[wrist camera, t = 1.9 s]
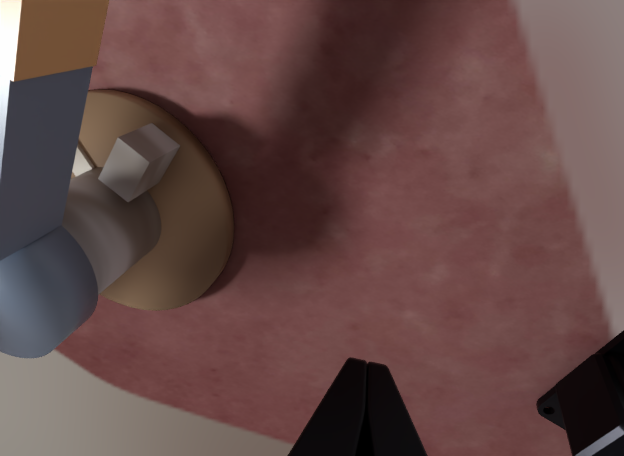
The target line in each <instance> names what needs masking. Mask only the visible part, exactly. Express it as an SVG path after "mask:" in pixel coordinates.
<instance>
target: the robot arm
mask: <svg viewBox="0 0 624 456" xmlns="http://www.w3.org/2000/svg"><path fill="white" fill-rule="evenodd" d="M536 405H537V410H538V413H539V414H540V415H541V416H542V417H544V418H546V419H548V420H549V421H551V422H553V423H554V424H556V425H558V426H560V427H561V428H563V429H565V430H566V433H567V437H568V441H569V445H570V449H571V453H572V456H624V331H622V332H621V333H620V334H618V335H617V336H616V337H615V338H614V339H612V340H611V341H610V342H609V343H607V344H606V345H605V346H604V347H602V348H601V349H600V350H599V351H597V352H596V353H595V354H593V355H591V356H590V357H589V358H588V359H586V360H585V361H584V362H583V363H581V364H580V365H579V366H578V367H577V368H575V369H574V370H573V371H572V372H570V373H569V374H568V375H567V376H565V377H564V378H563V379H562V380H560V381H559V382H558V383H557V384H556V385H555V386H554V387H553V388H552V389H550V390H549V391H548V392H547V393H546V394H544V395H543V396H542V397H541V398H539V399H538V401H537V404H536ZM545 407H551V408H545ZM288 456H427V454H426V451H425V449H424V447H423V445H422V442H421V440H420V438H419V436H418V433H417V431H416V429H415V427H414V424H413V422H412V420H411V418H410V415H409V413H408V411H407V409H406V406H405V404H404V402H403V400H402V397H401V395H400V393H399V391H398V389H397V386H396V384H395V382H394V380H393V377H392V375H391V373H390V371H389V369H388V367H387V366H386V365H384V364H380V363H375V362H368V363H367V362H366V361H365V360H361V359H356V358H348V359H347V360H346V362H345V364H344V365H343V367H342V368H341V370H340V372H339V373H338V375H337V376H336V378H335V380H334V381H333V383H332V385H331V386H330V388H329V389H328V391H327V393H326V394H325V396H324V398H323V399H322V401H321V402H320V404H319V406H318V407H317V409H316V411H315V412H314V414H313V415H312V417H311V419H310V420H309V422H308V423H307V425H306V427H305V428H304V430H303V432H302V433H301V435H300V436H299V438H298V440H297V441H296V443H295V445H294V446H293V448H292V450H291V451H290V453H289V454H288Z"/></svg>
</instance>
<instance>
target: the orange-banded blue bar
mask: <svg viewBox="0 0 624 456" xmlns="http://www.w3.org/2000/svg"><path fill="white" fill-rule="evenodd" d="M108 4H109V0H0V351H1V352H3V353H5V354H8V355H11V356H15V357H20V358H37V357H42V356H44V355H47V354H48V353H50V352H51V351H52V350H53V349H55V348H56V347H57V346H58V345H59V344H60V343H61V342H63V341H64V340H65V339H66V338H67V337H68V336H69V335H70V334H72V333H73V332H74V331H75V330H76V329H77V328H78V327H80V326H81V325H82V324H83V323H84V322H85V321H86V320H87V319H88V318H89V317H90V316H91V315H92V314H93V312H94V310H95V308H96V305H97V301H98V286H97V280H96V276H95V273H94V270H93V268H92V265H91V263H90V261H89V259H88V257H87V256H86V254H85V252H84V251H83V249H82V248H81V246H80V245H79V244H78V242H77V241H76V240H75V239H74V237H73V236H72V235H71V234H70V233H69V232H68V231H67V230H66V229H65V228H64V227H63V226H62V221H63V216H64V211H65V206H66V201H67V196H68V190H69V185H70V180H71V175H72V170H73V165H74V160H75V155H76V150H77V145H78V139H79V134H80V129H81V124H82V119H83V114H84V109H85V104H86V99H87V94H88V88H89V83H90V78H91V73H92V68H93V66H96V64H97V59H98V54H99V49H100V44H101V39H102V34H103V29H104V24H105V19H106V14H107V9H108Z"/></svg>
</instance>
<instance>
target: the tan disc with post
mask: <svg viewBox="0 0 624 456" xmlns="http://www.w3.org/2000/svg"><path fill="white" fill-rule="evenodd" d="M62 226H63V227H64V228H65V229H66V230H67V231H68V232H69V233H70V234H71V235H72V236H73V237H74V239H75V240H76V241H77V242H78V244H79V245H80V246H81V248H82V249H83V251H84V252H85V254H86V256H87V257H88V259H89V261H90V263H91V265H92V268H93V270H94V273H95V276H96V280H97V286H98V295H99V294H100V295H102V296H104V297H105V298H107V299H110V300H112V301H114V302H117V303H119V304H122V305H126V306H129V307H132V308H138V309H143V310H168V309H173V308H178V307H181V306H183V305H186V304H188V303H190V302H192V301H194V300H195V299H197V298H198V297H200V296H201V295H202V294H203V293H204V292H206V290H207V289H208V288H209V287H210V286H211V285H212V283H213V282H214V281H215V280H216V279H217V277H218V276H219V275H220V274H221V272H222V271H223V269H224V267H225V266H226V264H227V262H228V259H229V256H230V254H231V250H232V245H233V240H234V217H233V210H232V205H231V200H230V196H229V193H228V190H227V188H226V185H225V182H224V180H223V178H222V176H221V174H220V171H219V169H218V167H217V166H216V164H215V162H214V161H213V159H212V158H211V156H210V154H209V153H208V152H207V150H206V149H205V148H204V146H203V145H202V144H201V143H200V141H199V140H198V139H197V138H196V137H195V136H194V135H193V134H192V133H191V131H190V130H189V129H188V128H187V127H186V126H184V125H183V124H182V123H181V122H180V121H178V120H177V119H176V118H175V117H174V116H172V115H171V114H169V113H168V112H166V111H165V110H163V109H162V108H160V107H159V106H157V105H155V104H153V103H151V102H149V101H147V100H145V99H143V98H140V97H138V96H135V95H132V94H129V93H125V92H120V91H116V90H103V89H97V90H88V94H87V99H86V104H85V109H84V114H83V119H82V124H81V129H80V134H79V139H78V145H77V150H76V155H75V160H74V165H73V170H72V175H71V180H70V185H69V190H68V196H67V201H66V206H65V211H64V216H63V221H62Z"/></svg>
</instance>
